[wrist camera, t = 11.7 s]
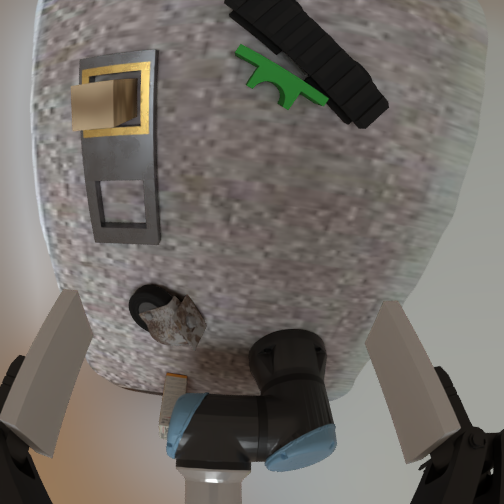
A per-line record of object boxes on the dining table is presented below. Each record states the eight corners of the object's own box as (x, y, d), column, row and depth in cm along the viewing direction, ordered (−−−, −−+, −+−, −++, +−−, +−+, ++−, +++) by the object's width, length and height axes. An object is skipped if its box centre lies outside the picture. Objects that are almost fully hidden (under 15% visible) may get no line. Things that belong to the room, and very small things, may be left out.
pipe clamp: (223, 73, 31) (221, 71, 27) (240, 48, 30) (240, 43, 26) (302, 119, 35) (310, 125, 31) (319, 96, 33) (329, 98, 29)
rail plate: (160, 239, 43) (158, 245, 41) (98, 236, 42) (94, 243, 40) (158, 50, 29) (154, 49, 27) (85, 59, 28) (79, 59, 26)
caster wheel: (132, 285, 50) (175, 268, 47) (166, 335, 54) (210, 324, 50) (113, 306, 44) (157, 291, 41) (151, 359, 48) (197, 350, 44)
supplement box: (165, 371, 60) (157, 424, 49) (187, 375, 60) (182, 428, 49) (165, 390, 64) (158, 439, 53) (185, 393, 65) (181, 442, 54)
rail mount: (380, 95, 33) (397, 99, 29) (346, 125, 35) (360, 133, 31) (259, -21, 24) (262, -35, 20) (221, 11, 27) (219, 1, 23)
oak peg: (137, 116, 33) (113, 127, 26) (101, 119, 33) (72, 131, 26) (137, 78, 30) (113, 79, 24) (101, 82, 30) (71, 86, 23)
